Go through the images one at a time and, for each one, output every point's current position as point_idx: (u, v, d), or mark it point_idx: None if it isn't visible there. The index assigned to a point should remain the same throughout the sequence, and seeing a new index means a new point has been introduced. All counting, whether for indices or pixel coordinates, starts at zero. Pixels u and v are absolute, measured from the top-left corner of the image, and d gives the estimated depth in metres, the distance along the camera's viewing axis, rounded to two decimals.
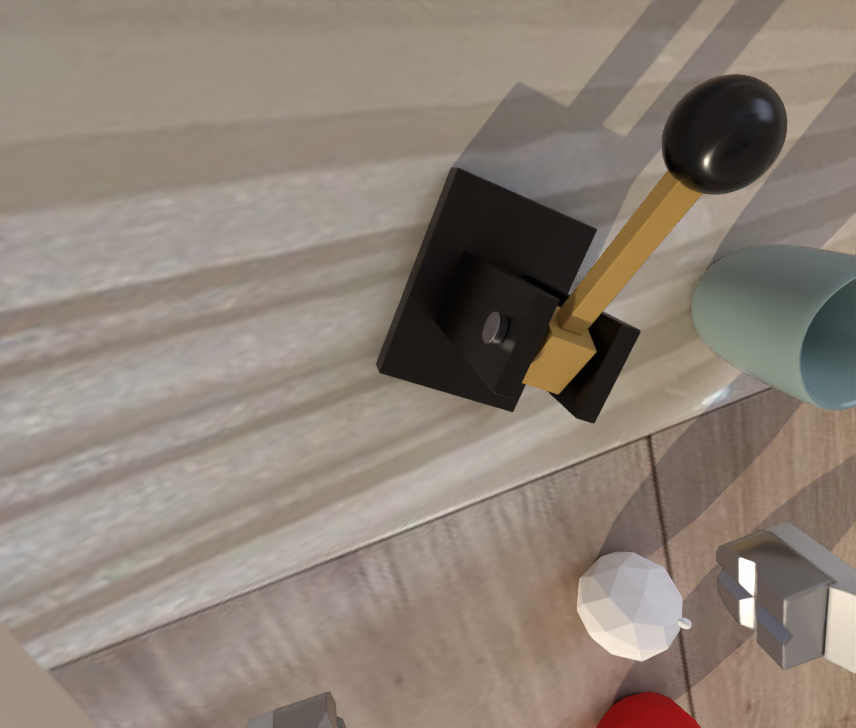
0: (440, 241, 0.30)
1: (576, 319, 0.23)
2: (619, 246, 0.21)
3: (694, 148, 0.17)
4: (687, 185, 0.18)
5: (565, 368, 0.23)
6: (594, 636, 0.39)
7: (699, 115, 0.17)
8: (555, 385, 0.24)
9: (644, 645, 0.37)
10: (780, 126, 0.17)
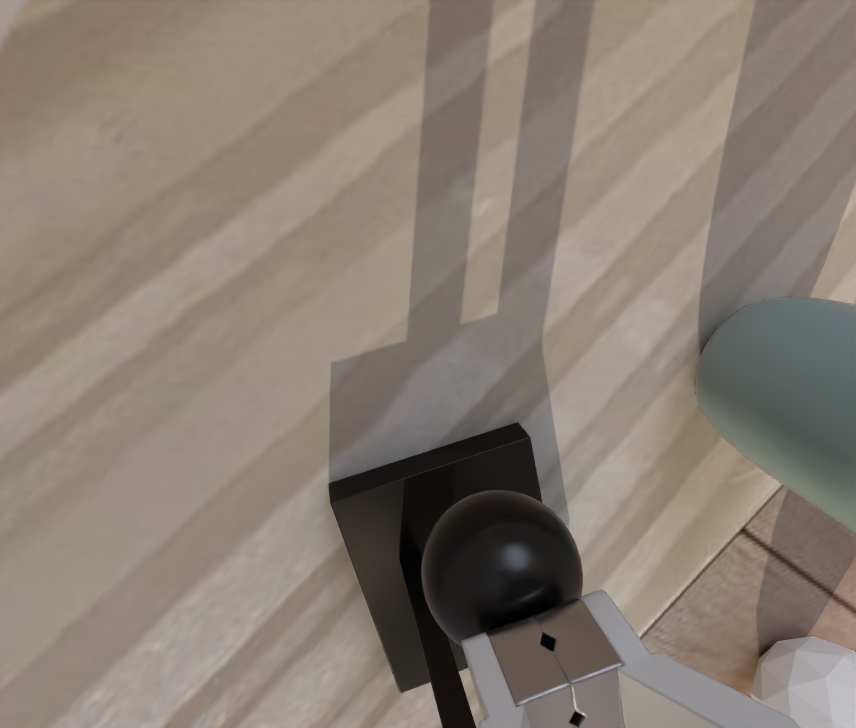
0: (367, 567, 0.25)
1: None
2: None
3: None
4: None
5: None
6: None
7: (439, 616, 0.12)
8: None
9: None
10: (543, 582, 0.11)
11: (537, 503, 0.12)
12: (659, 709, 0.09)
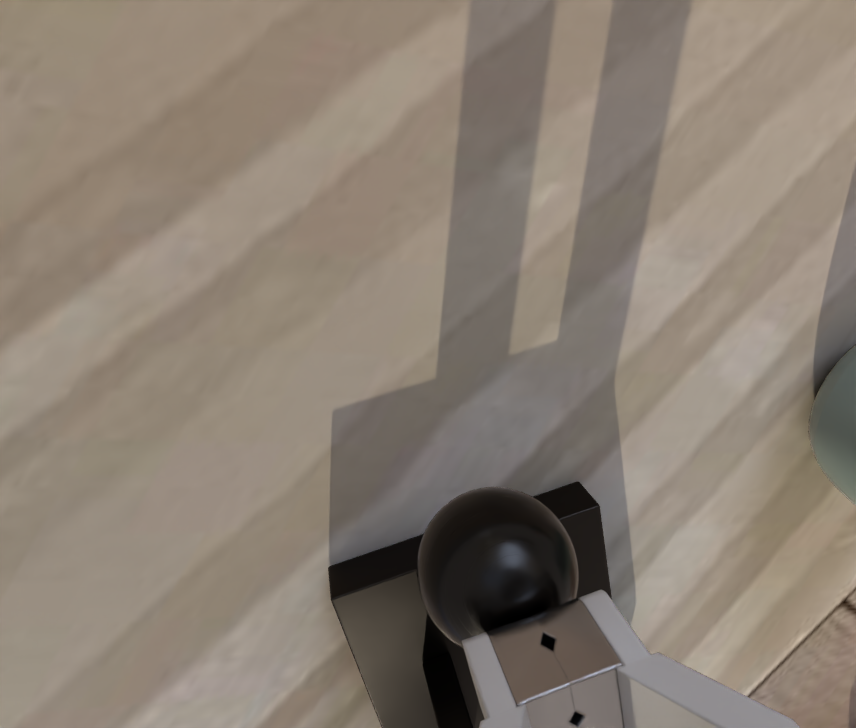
0: (380, 678, 0.19)
1: None
2: None
3: (456, 628, 0.11)
4: None
5: None
6: None
7: (427, 590, 0.12)
8: None
9: None
10: (516, 524, 0.11)
11: None
12: (658, 709, 0.09)
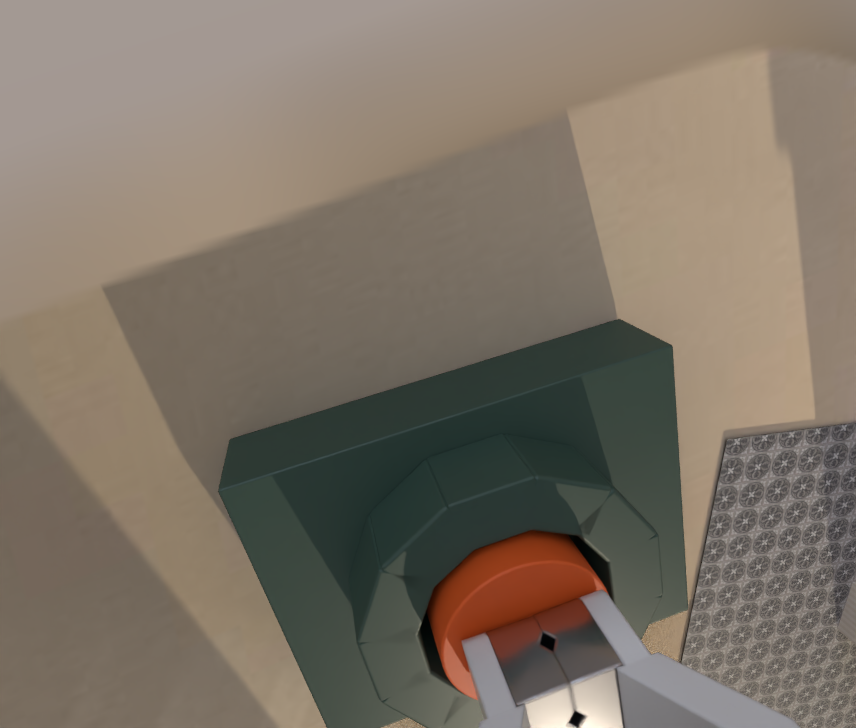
0: None
1: None
2: None
3: None
4: None
5: None
6: None
7: None
8: None
9: None
10: None
11: None
12: (659, 709, 0.09)
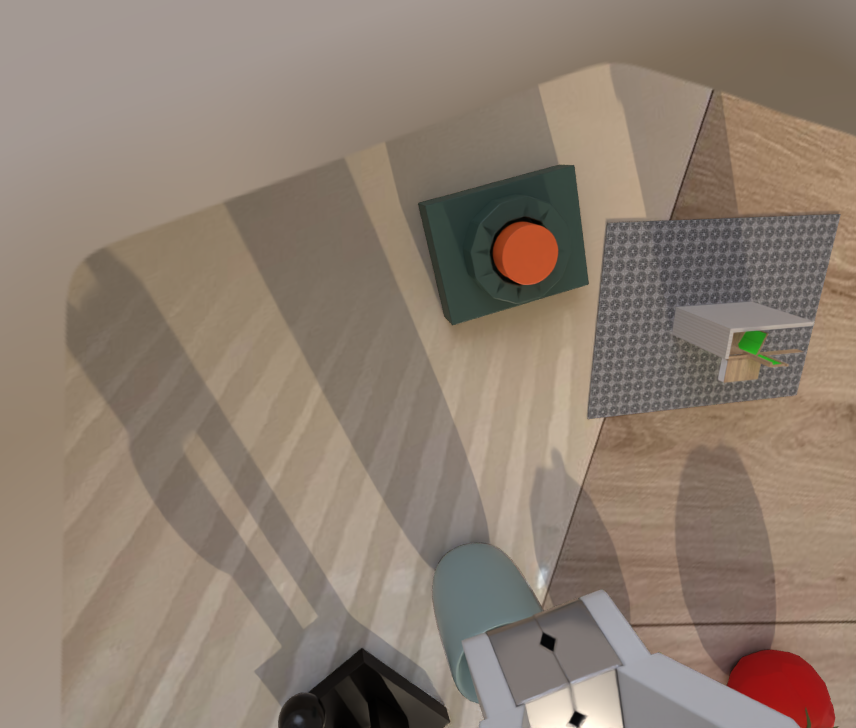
0: None
1: None
2: None
3: None
4: None
5: None
6: None
7: None
8: None
9: None
10: (292, 713, 0.42)
11: (305, 693, 0.43)
12: (659, 709, 0.09)
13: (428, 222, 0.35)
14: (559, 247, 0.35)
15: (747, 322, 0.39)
